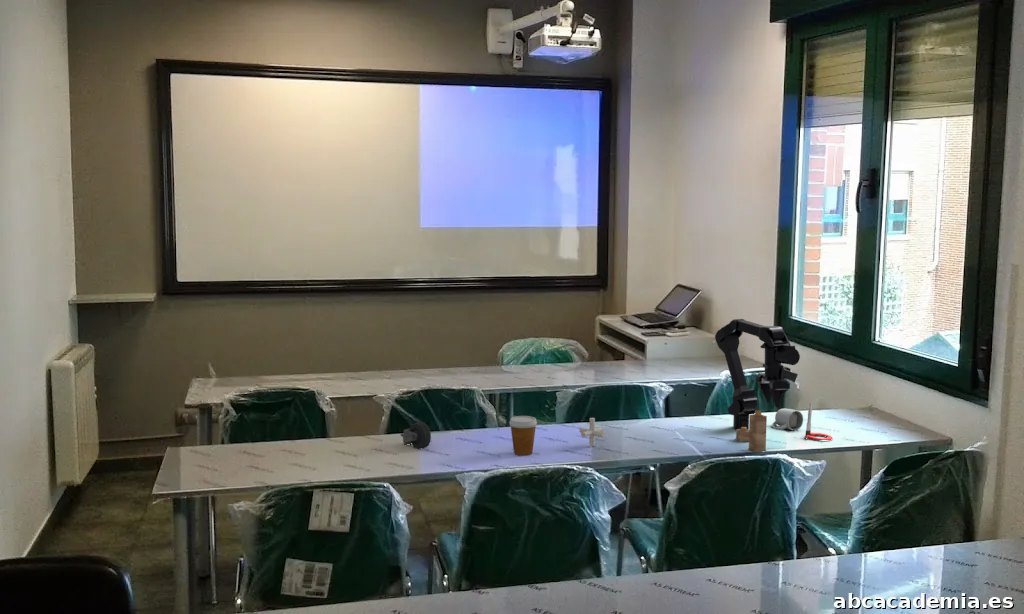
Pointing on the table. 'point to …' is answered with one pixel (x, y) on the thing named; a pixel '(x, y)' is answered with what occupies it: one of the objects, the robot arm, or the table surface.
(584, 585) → the table surface
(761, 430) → the point post
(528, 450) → the disposable coffee cup
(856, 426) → the table surface
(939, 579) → the table surface
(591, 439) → the pipe connector
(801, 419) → the ceramic mug
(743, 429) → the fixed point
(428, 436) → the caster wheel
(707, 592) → the table surface
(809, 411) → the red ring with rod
